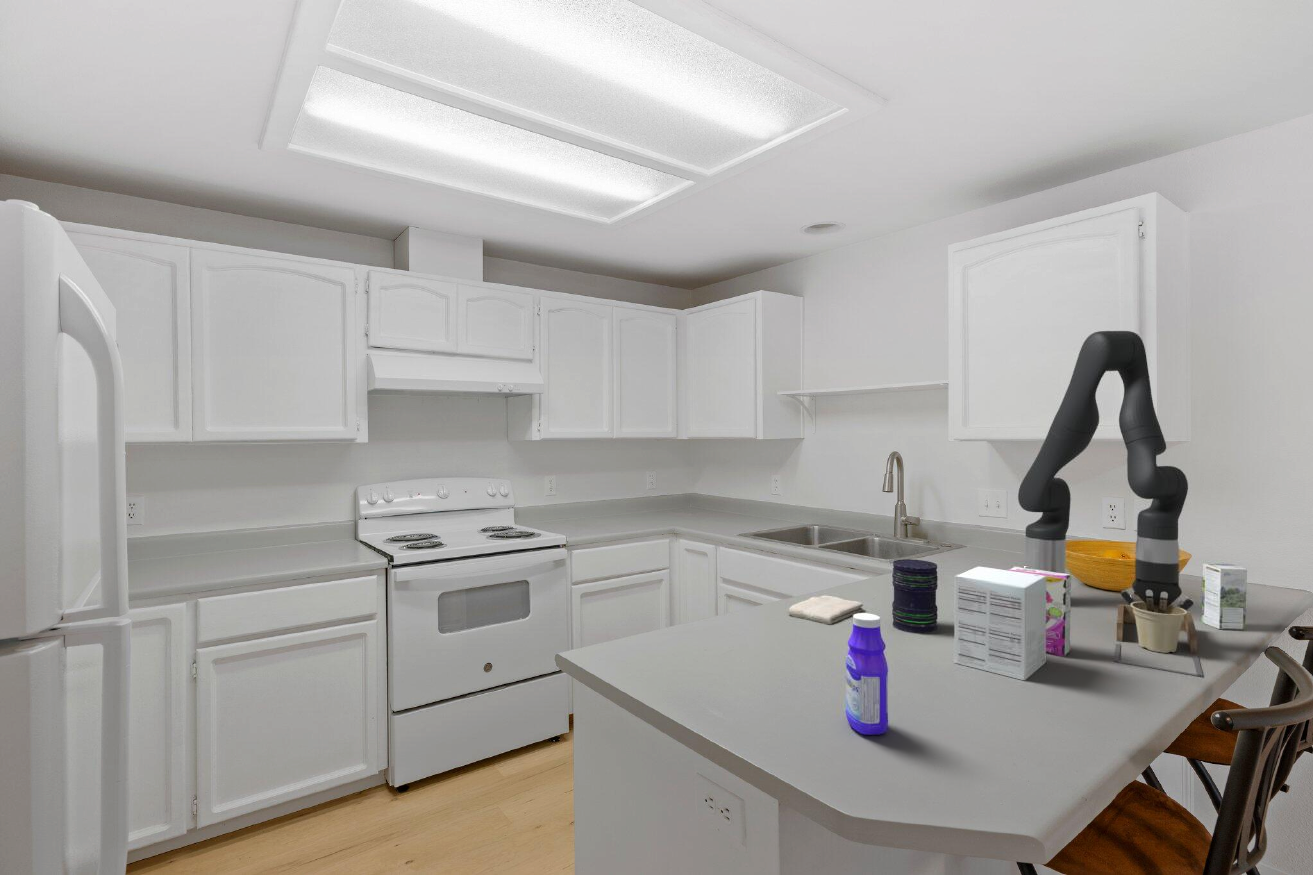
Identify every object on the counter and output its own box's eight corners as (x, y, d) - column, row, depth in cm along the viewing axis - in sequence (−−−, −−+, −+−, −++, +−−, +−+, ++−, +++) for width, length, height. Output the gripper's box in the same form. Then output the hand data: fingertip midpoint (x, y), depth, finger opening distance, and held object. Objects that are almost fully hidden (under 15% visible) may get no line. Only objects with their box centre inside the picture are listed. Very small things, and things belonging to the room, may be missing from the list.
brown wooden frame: (1116, 640, 142) (1116, 622, 142) (1118, 620, 157) (1118, 603, 157) (1196, 653, 134) (1197, 634, 134) (1191, 630, 149) (1191, 613, 149)
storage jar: (891, 630, 149) (891, 566, 149) (892, 619, 158) (892, 558, 158) (938, 635, 146) (938, 569, 145) (937, 623, 155) (937, 561, 154)
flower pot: (1169, 641, 141) (1170, 601, 140) (1197, 657, 131) (1197, 615, 131) (1121, 639, 142) (1121, 600, 142) (1144, 655, 133) (1145, 613, 133)
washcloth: (865, 611, 166) (865, 599, 166) (830, 627, 153) (830, 614, 153) (823, 603, 174) (823, 591, 174) (787, 617, 161) (787, 605, 161)
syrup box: (1226, 623, 154) (1227, 562, 154) (1246, 630, 149) (1247, 567, 148) (1200, 622, 155) (1201, 561, 155) (1219, 630, 149) (1220, 567, 149)
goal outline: (1114, 661, 129) (1114, 660, 129) (1115, 644, 140) (1115, 643, 140) (1203, 677, 121) (1203, 676, 121) (1198, 657, 131) (1198, 656, 131)
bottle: (840, 717, 105) (840, 610, 105) (874, 716, 105) (874, 609, 105) (857, 738, 98) (858, 623, 97) (894, 737, 98) (894, 622, 98)
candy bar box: (1005, 645, 139) (1005, 569, 139) (1011, 640, 143) (1012, 565, 142) (1065, 658, 131) (1066, 577, 131) (1071, 651, 135) (1071, 573, 135)
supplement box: (976, 647, 138) (977, 565, 138) (1046, 663, 129) (1047, 575, 128) (952, 663, 129) (952, 575, 129) (1025, 681, 119) (1026, 587, 119)
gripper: (1119, 557, 141) (1117, 636, 142) (1198, 565, 133) (1196, 648, 134) (1119, 551, 147) (1118, 627, 148) (1195, 559, 139) (1193, 639, 140)
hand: (1155, 637), depth 141 cm, fingers closed
